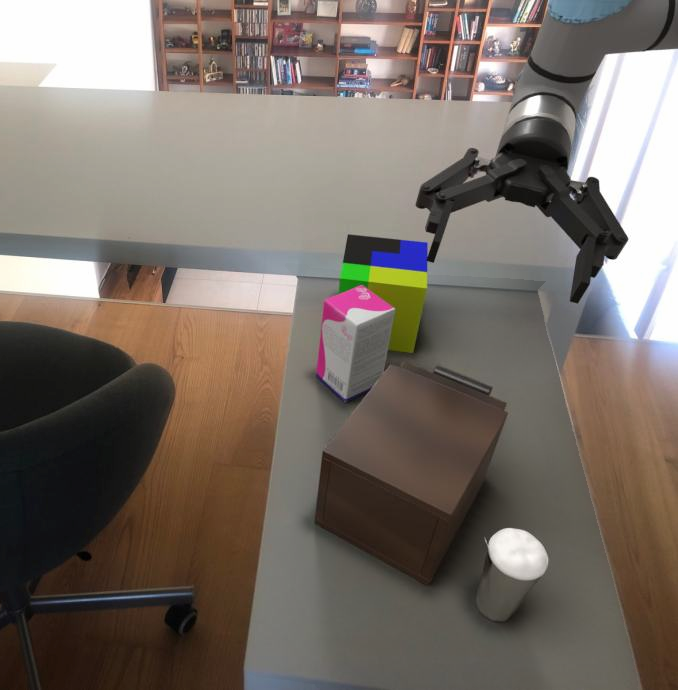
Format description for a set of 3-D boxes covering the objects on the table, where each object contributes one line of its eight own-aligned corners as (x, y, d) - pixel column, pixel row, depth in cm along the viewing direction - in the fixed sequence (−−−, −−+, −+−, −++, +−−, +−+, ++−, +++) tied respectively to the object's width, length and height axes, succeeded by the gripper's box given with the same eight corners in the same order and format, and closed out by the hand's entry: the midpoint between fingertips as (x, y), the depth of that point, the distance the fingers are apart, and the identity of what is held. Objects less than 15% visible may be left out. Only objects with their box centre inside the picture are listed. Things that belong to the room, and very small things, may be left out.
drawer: (409, 395, 80) (422, 335, 74) (501, 434, 75) (523, 374, 69) (336, 496, 69) (345, 436, 63) (438, 550, 64) (457, 490, 58)
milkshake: (452, 580, 63) (477, 514, 56) (512, 581, 63) (544, 515, 56) (464, 628, 59) (492, 564, 53) (528, 630, 59) (563, 565, 53)
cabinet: (376, 436, 76) (390, 363, 69) (481, 485, 71) (508, 412, 64) (313, 523, 68) (322, 450, 61) (427, 586, 62) (451, 515, 55)
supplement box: (383, 384, 82) (397, 308, 75) (344, 404, 80) (355, 327, 73) (351, 357, 86) (362, 282, 79) (313, 375, 84) (321, 299, 76)
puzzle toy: (414, 305, 94) (427, 242, 87) (413, 353, 86) (427, 288, 80) (340, 296, 96) (347, 234, 89) (332, 342, 88) (340, 278, 82)
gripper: (637, 201, 78) (625, 337, 66) (417, 147, 84) (369, 263, 72) (671, 144, 72) (666, 282, 60) (432, 91, 78) (383, 206, 66)
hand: (504, 272), depth 66 cm, fingers open, 13 cm apart
